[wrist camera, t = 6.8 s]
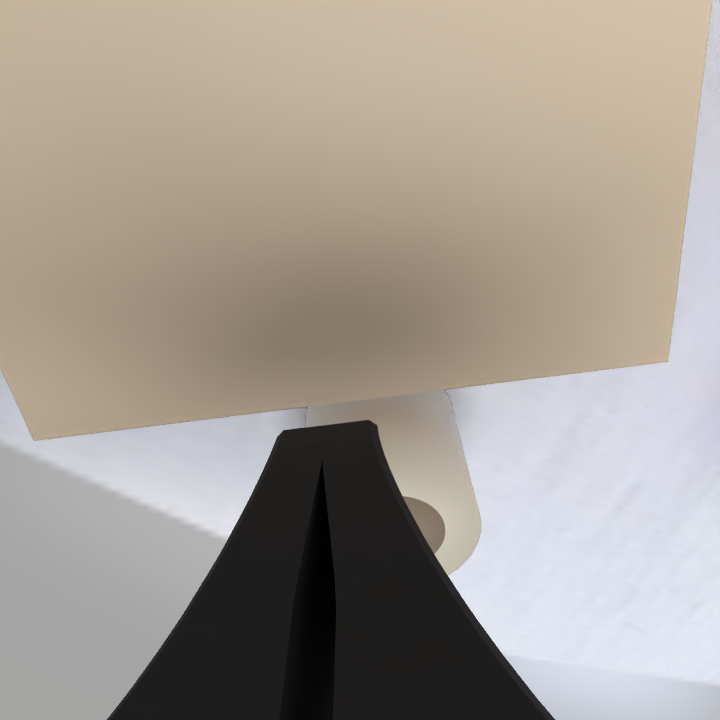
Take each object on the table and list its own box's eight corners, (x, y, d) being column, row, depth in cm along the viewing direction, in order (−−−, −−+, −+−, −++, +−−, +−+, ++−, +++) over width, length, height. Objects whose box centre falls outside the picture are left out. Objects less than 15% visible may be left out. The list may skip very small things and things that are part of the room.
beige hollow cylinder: (318, 483, 24) (317, 602, 20) (293, 370, 21) (284, 481, 17) (456, 466, 24) (483, 582, 20) (448, 350, 21) (478, 456, 17)
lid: (45, 422, 15) (33, 442, 14) (-312, -378, 8) (-362, -406, 8) (654, 346, 14) (668, 362, 14) (754, -561, 8) (789, -608, 7)
